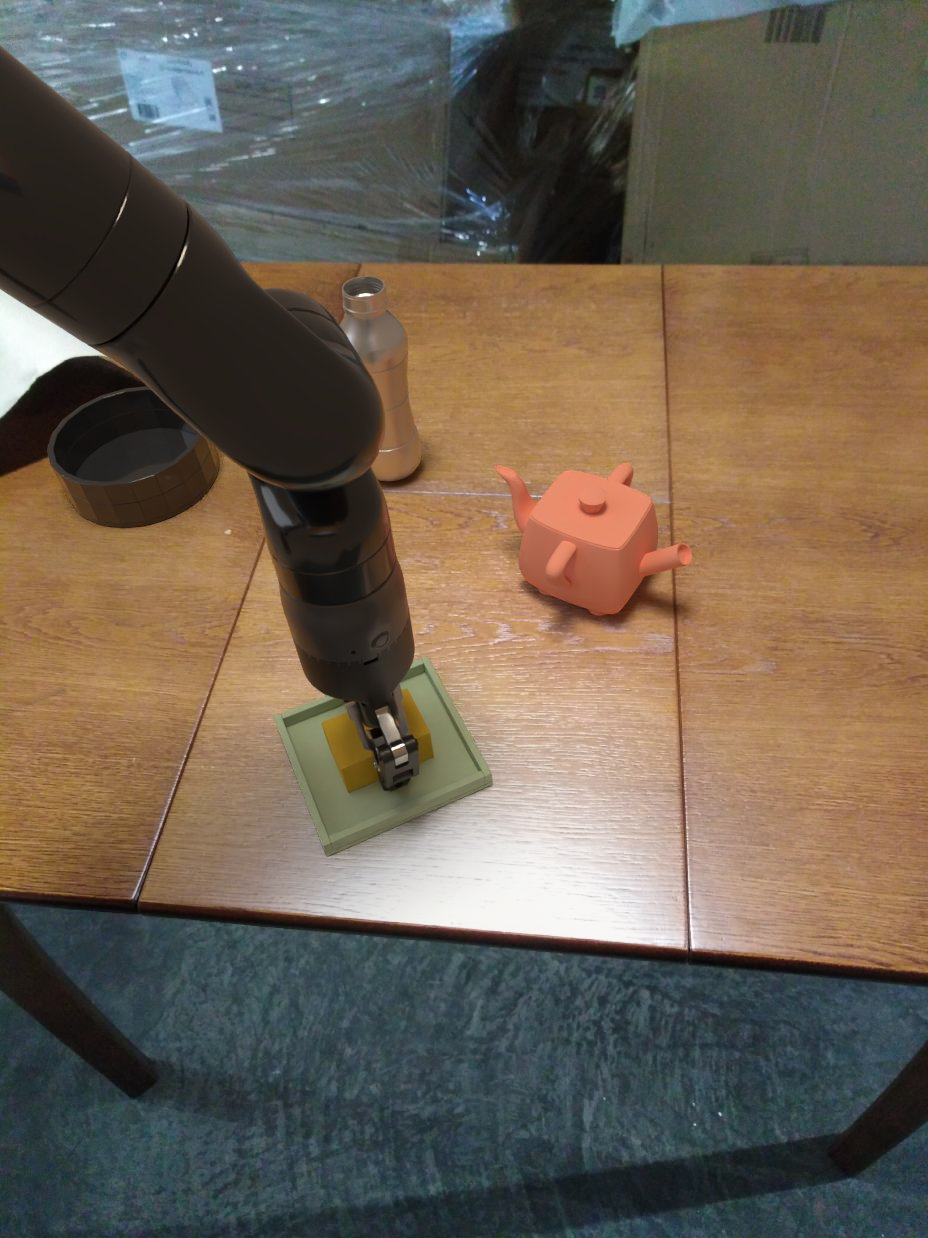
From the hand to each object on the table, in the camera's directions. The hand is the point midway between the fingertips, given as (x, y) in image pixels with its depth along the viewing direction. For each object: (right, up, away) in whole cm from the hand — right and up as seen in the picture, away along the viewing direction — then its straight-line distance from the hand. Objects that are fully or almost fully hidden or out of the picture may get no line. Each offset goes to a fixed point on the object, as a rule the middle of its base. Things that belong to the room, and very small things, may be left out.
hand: (382, 753), depth 69 cm
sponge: (0, 0, 0) cm, 0 cm away
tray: (0, 0, +1) cm, 1 cm away
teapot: (+17, +14, +11) cm, 25 cm away
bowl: (-27, +25, +24) cm, 43 cm away
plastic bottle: (-1, +25, +22) cm, 34 cm away
